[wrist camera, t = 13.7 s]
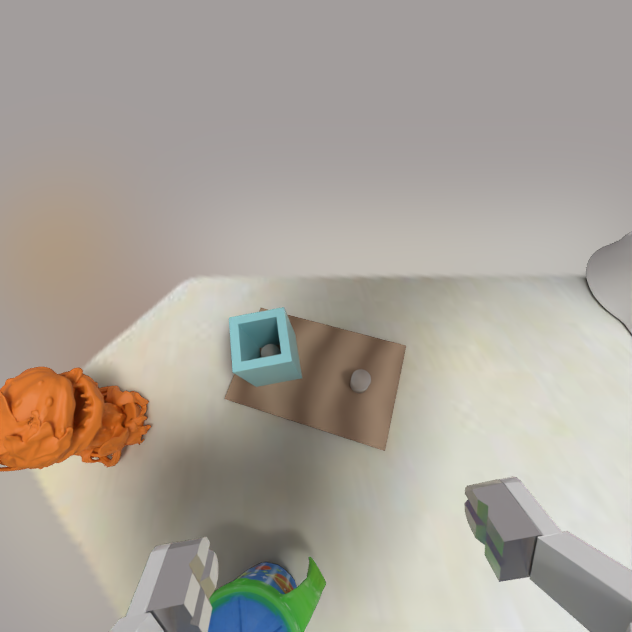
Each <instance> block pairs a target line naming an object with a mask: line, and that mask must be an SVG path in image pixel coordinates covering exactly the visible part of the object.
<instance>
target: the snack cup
mask: <svg viewBox="0 0 632 632" xmlns="http://www.w3.org/2000/svg"><path fill="white" fill-rule="evenodd" d="M325 585H326V582H325V579H324V577H323V576H322V574H321V572H320V570H319V568H318V567H317V565H316V563H315V562H314V560H313V559H312V558H311V557H309V568H308V573H307V578H306V579H305V580H304V581H303V582H302V583H301V584H300V585H299V586H298V587H297V586H296V584H295V580H294V579H293V578H292V577H291V575H290V574H288V572H287V571H286V570H284V569H283V568H282V567H280V566H279V565H277V564H272V563H268V562H265V563H260V564H258V565H256V566H253V567H252V568H250V569H249V570H247V571H246V572H244V573H243V574H242V575H241V576H239V577H238V578H237V579H235V580H234V581H233V582H230V583H228V584H226V585H224V586H222V587H220V588H219V589H217V590H216V591H215V592H213V594H212V595H211V597H210V598H209V600H210V603H211V606H212V612H211V617H210V622H209V627H208V632H304V631H305V628H306V626H307V624H308V623H309V621H310V618H311V616H312V614H313V612H314V610H315V608H316V606H317V604H318V601H319V599H320V596H321V594H322V591H323V589H324V587H325Z"/></svg>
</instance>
